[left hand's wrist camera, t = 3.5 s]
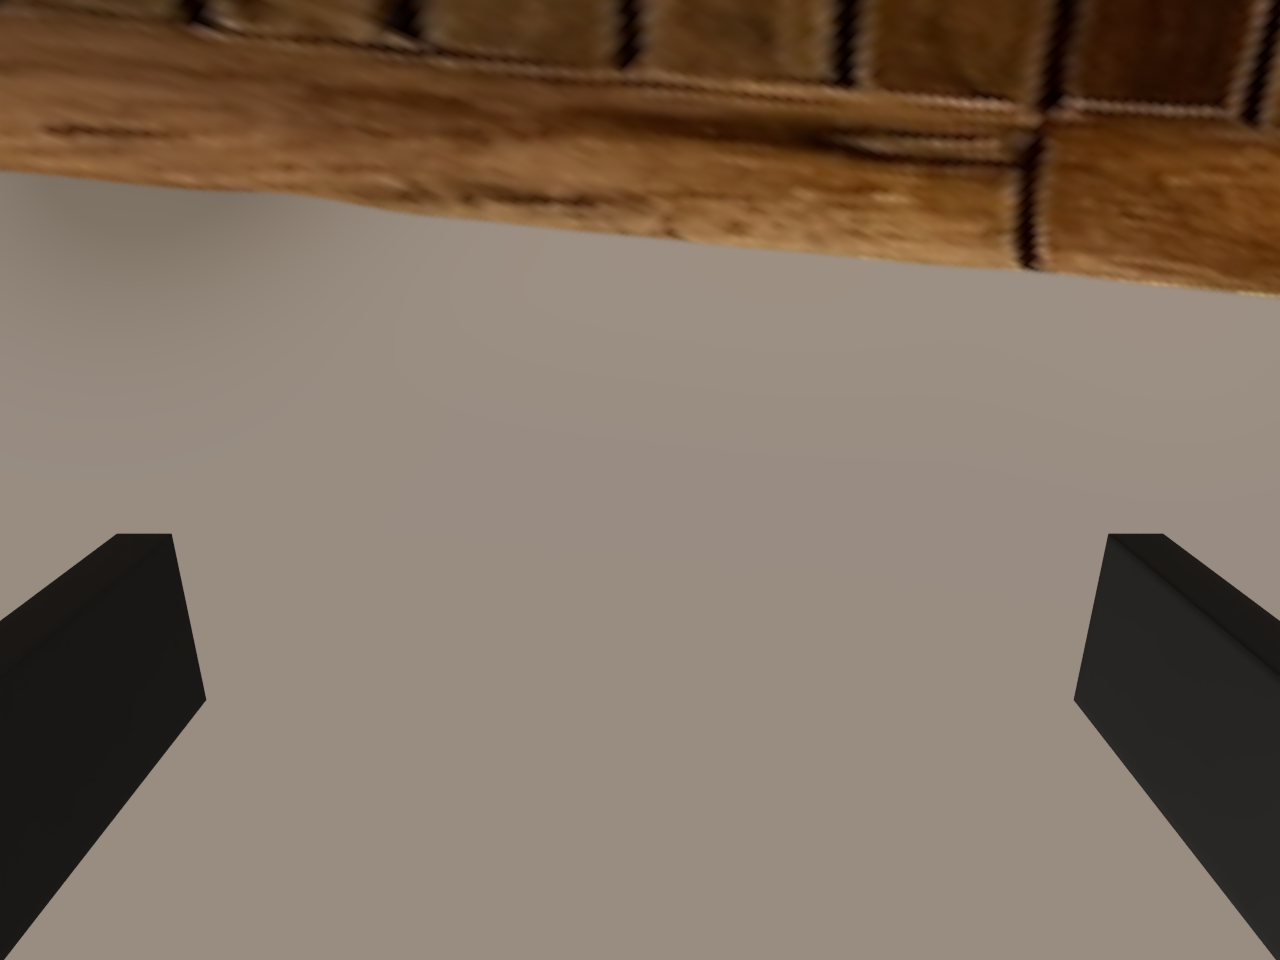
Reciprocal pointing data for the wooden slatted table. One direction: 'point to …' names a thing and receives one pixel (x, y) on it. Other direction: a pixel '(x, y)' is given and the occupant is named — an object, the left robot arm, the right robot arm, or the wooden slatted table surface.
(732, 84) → the wooden slatted table surface
